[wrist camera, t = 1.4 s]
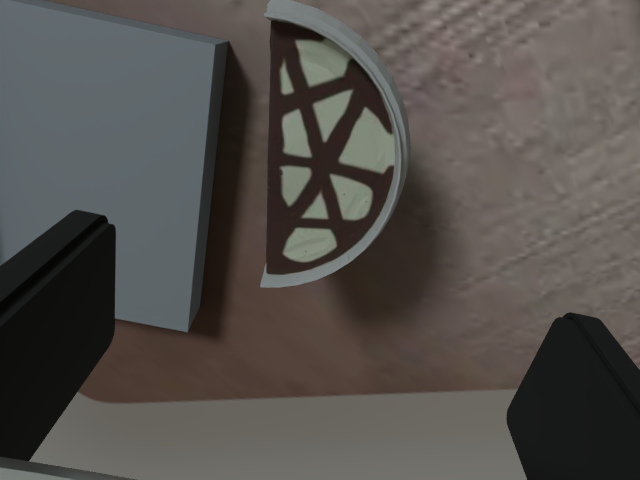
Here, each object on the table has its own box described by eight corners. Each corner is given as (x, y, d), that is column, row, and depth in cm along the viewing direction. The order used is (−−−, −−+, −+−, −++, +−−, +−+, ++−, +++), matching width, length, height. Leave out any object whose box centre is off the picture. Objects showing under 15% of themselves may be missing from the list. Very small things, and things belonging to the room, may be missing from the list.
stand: (228, 40, 27) (204, 48, 22) (199, 306, 35) (178, 351, 30) (-28, -16, 26) (-106, -20, 22) (2, 268, 34) (-50, 308, 30)
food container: (380, 220, 31) (393, 308, 22) (284, 212, 31) (259, 297, 22) (408, 8, 26) (442, 9, 17) (292, -1, 26) (263, -4, 17)
